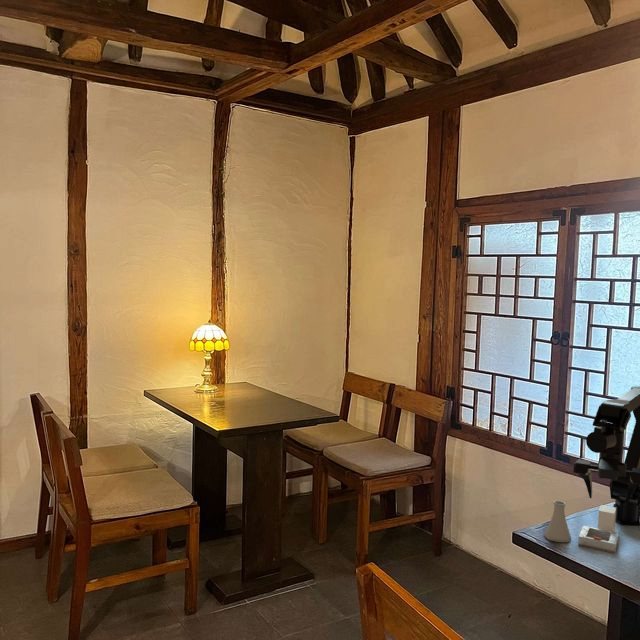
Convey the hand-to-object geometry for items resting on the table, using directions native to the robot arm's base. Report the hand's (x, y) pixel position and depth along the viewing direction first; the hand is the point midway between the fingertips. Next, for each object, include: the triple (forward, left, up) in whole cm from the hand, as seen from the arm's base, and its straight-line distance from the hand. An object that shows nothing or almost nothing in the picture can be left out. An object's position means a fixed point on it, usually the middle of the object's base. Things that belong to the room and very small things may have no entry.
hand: (608, 501), depth 181 cm
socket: (+6, +8, -9) cm, 13 cm away
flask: (+16, +5, -10) cm, 19 cm away
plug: (0, 0, -9) cm, 9 cm away
